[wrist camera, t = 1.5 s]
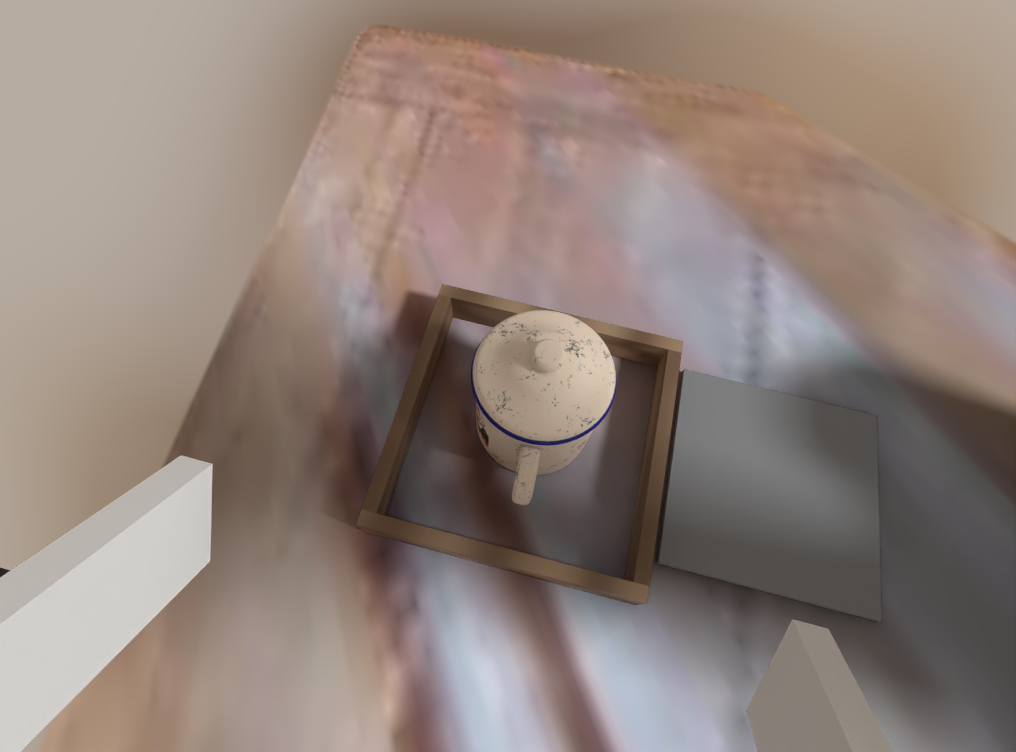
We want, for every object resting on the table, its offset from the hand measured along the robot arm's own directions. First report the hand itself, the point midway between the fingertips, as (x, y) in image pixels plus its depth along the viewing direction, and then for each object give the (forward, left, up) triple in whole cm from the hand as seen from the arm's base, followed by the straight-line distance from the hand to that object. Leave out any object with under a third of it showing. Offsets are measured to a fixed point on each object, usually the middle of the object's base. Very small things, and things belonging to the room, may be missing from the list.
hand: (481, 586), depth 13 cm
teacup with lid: (0, -13, -27) cm, 30 cm away
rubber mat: (-18, -14, -27) cm, 35 cm away
